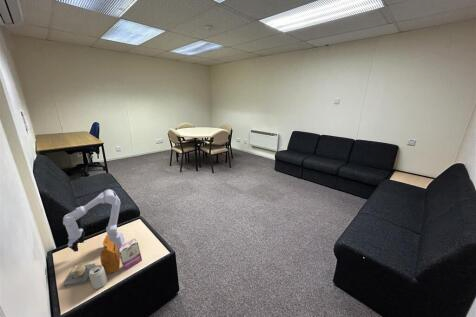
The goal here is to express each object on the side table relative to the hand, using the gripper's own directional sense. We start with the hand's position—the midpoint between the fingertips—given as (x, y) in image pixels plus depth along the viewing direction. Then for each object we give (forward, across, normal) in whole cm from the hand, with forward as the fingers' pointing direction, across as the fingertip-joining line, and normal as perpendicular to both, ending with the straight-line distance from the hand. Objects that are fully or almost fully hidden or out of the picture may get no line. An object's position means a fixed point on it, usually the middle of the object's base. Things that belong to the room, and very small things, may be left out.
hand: (79, 246), depth 136 cm
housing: (+9, +16, +6) cm, 20 cm away
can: (+10, +24, +20) cm, 33 cm away
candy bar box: (+10, +12, +35) cm, 38 cm away
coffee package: (+10, +12, +23) cm, 28 cm away
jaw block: (+10, +16, +6) cm, 20 cm away
